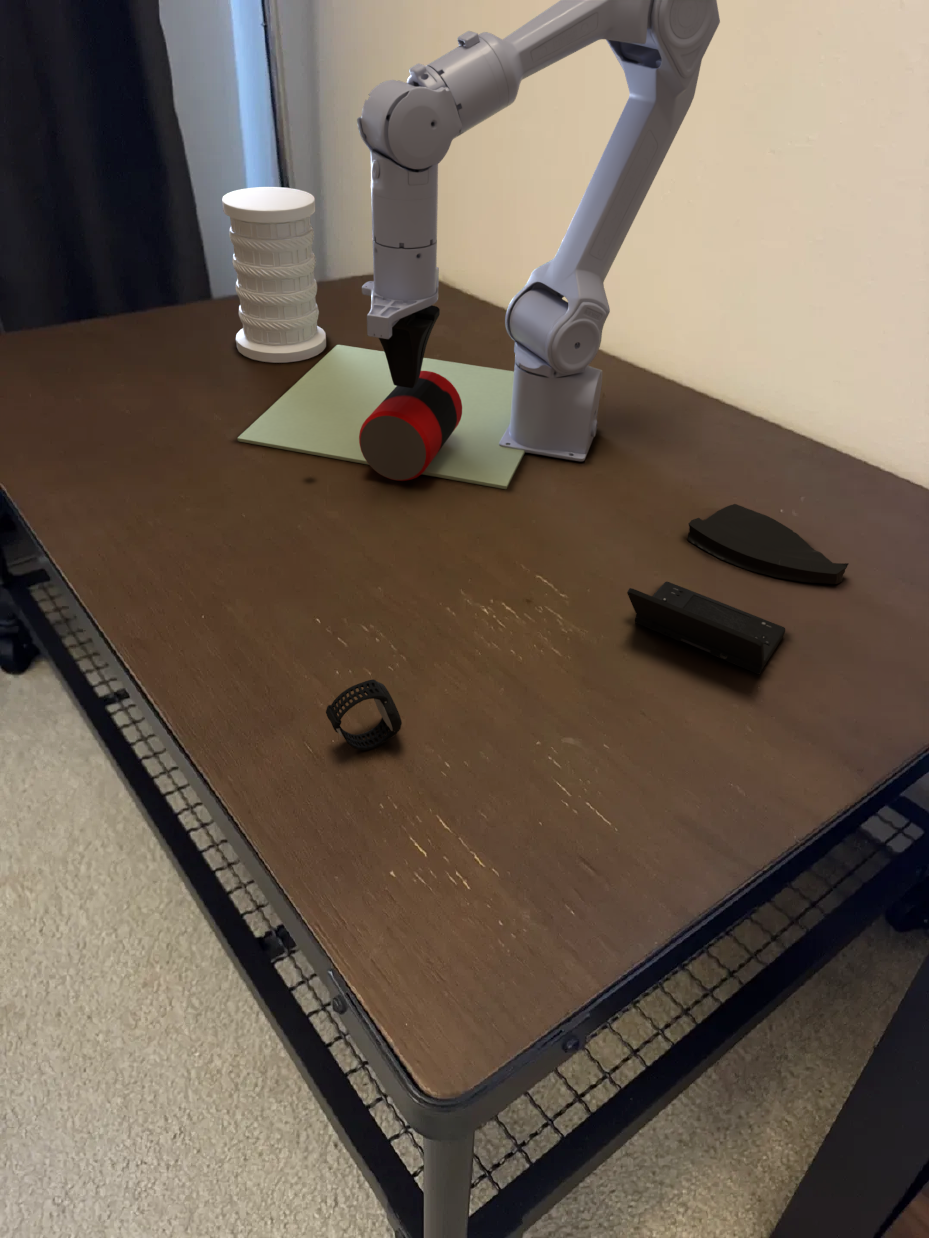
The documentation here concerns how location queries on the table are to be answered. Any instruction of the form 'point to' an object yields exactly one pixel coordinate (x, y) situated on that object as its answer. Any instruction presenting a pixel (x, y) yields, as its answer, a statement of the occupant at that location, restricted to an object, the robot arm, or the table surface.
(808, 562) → the curved wedge
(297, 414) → the mat
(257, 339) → the decorative container
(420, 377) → the soda can
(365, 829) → the table surface
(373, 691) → the smartwatch
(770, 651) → the handheld gaming console
